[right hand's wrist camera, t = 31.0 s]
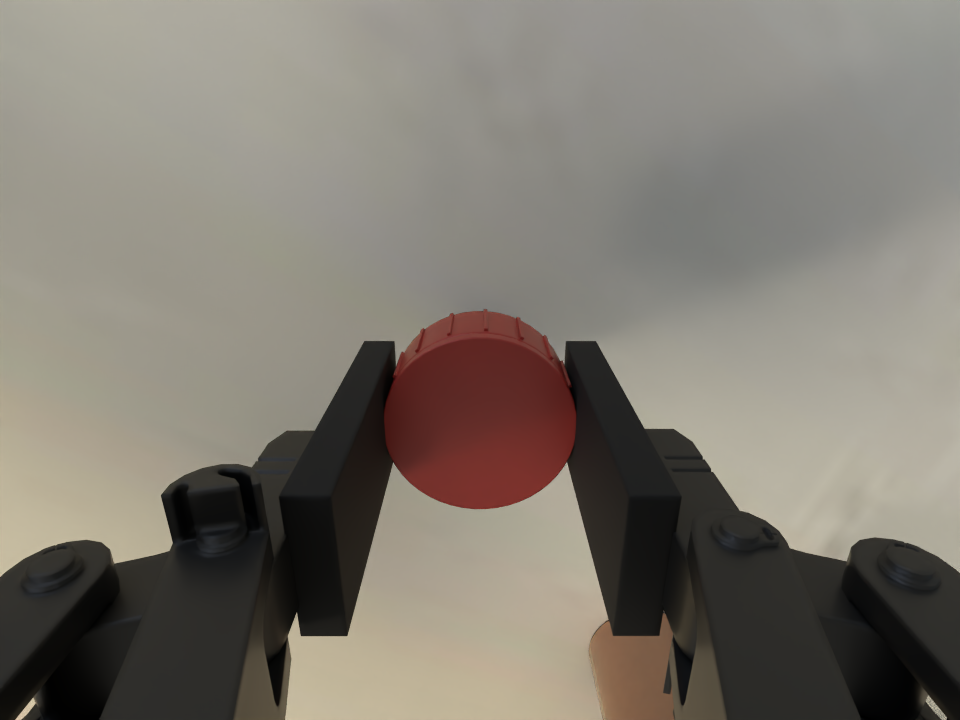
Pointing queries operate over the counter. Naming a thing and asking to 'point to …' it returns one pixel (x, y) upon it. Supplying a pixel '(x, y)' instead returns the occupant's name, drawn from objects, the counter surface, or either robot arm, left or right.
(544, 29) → the counter surface
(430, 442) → the cap
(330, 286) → the counter surface
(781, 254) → the counter surface
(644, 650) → the bottle
